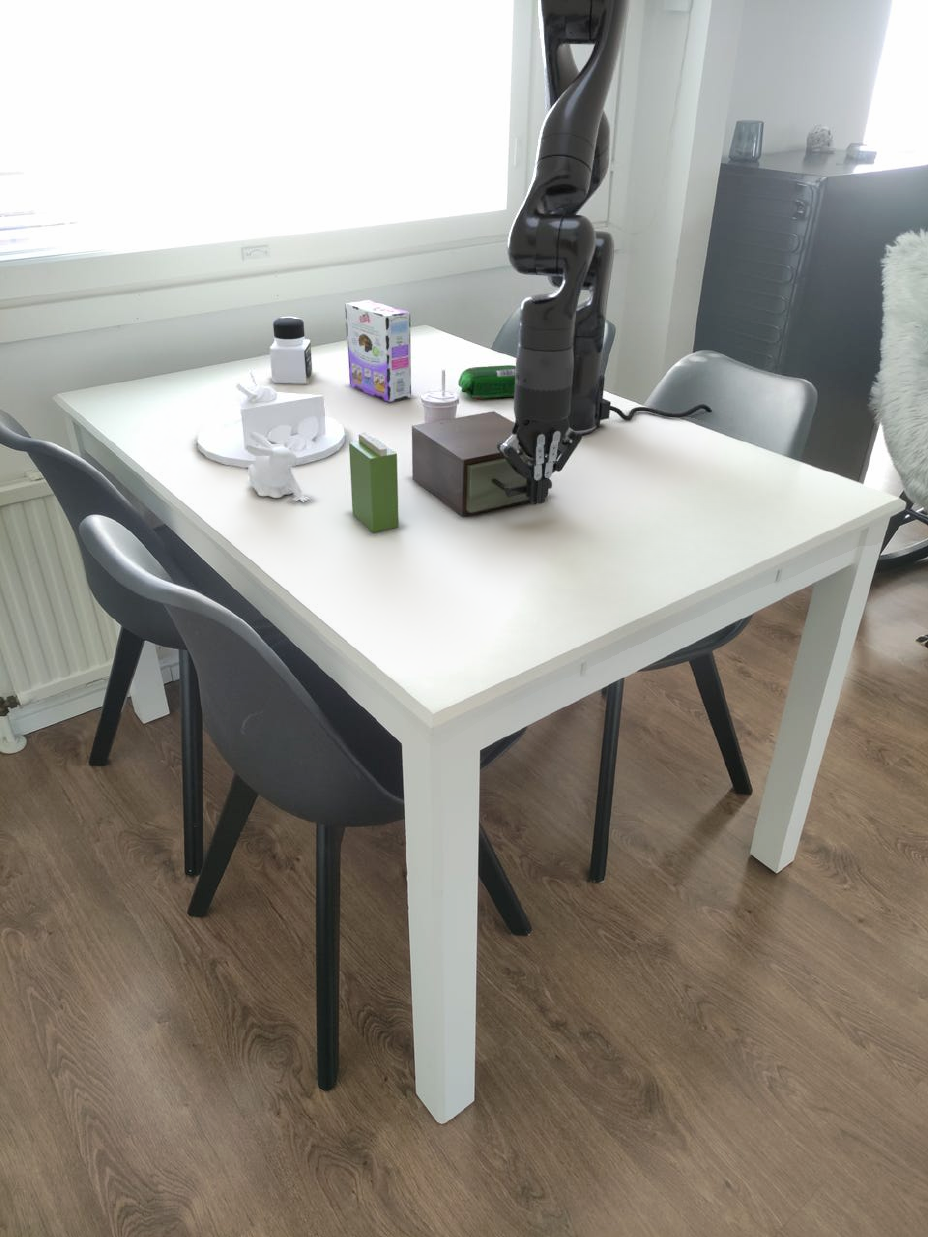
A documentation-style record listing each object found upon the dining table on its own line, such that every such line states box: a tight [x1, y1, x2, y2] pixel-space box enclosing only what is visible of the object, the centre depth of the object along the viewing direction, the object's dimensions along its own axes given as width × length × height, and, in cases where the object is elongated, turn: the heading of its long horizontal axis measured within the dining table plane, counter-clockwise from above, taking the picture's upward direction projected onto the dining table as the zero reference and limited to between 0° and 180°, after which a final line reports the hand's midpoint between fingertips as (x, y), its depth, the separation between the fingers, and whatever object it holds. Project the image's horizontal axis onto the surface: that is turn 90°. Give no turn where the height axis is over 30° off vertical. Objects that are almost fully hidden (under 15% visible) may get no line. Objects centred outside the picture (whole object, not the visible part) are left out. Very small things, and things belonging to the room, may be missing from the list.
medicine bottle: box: [269, 316, 313, 385], centre depth 185 cm, size 7×7×12 cm
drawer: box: [466, 454, 553, 513], centre depth 136 cm, size 20×14×7 cm
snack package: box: [458, 364, 516, 400], centre depth 180 cm, size 7×16×5 cm, turn 104°
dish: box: [197, 368, 346, 469], centre depth 154 cm, size 25×25×11 cm
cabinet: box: [411, 410, 530, 518], centre depth 139 cm, size 16×15×9 cm
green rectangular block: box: [348, 432, 400, 534], centre depth 128 cm, size 7×4×12 cm, turn 30°
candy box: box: [344, 299, 412, 403], centre depth 177 cm, size 14×6×16 cm, turn 40°
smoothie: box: [419, 369, 460, 423], centre depth 151 cm, size 6×6×14 cm
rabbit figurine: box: [246, 432, 311, 503], centre depth 136 cm, size 12×8×10 cm, turn 35°
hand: (536, 501), depth 128 cm, fingers closed
